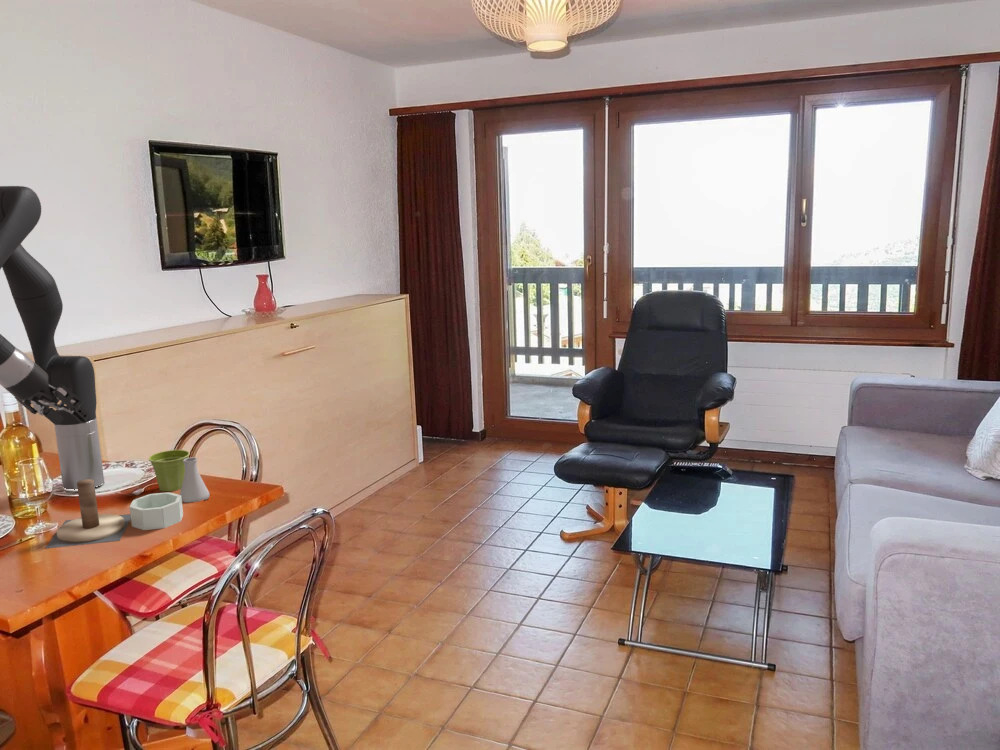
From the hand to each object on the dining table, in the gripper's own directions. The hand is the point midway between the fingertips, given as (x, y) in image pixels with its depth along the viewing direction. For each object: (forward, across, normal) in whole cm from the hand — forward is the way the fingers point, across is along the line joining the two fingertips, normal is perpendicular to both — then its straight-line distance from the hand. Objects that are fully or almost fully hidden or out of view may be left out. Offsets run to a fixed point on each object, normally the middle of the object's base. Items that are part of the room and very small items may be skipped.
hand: (73, 421), depth 171 cm
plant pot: (+32, 0, -3) cm, 32 cm away
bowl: (+22, -14, +12) cm, 29 cm away
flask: (+31, -11, 0) cm, 32 cm away
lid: (+15, -5, +18) cm, 24 cm away
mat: (+16, -5, +18) cm, 25 cm away
